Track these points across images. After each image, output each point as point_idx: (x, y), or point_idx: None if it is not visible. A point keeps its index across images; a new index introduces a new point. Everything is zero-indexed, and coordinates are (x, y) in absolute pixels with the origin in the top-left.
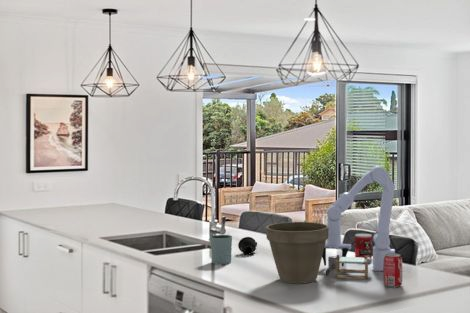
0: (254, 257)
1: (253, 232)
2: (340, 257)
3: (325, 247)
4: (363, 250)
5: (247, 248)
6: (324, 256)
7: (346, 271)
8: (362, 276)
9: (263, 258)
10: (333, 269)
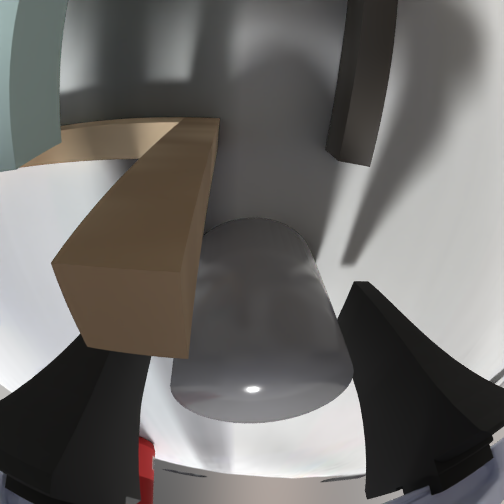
0: (490, 376)
1: (365, 472)
2: (3, 8)
3: (424, 501)
4: None
5: None
6: (426, 361)
7: (88, 122)
8: None
9: (482, 376)
10: (260, 221)
